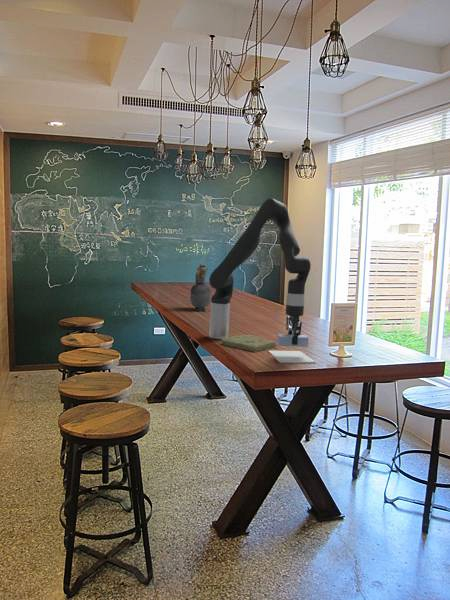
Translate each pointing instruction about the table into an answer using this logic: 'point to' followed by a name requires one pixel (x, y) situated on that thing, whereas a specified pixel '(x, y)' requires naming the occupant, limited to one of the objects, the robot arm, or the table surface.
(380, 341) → the table surface
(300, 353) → the mat
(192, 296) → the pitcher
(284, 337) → the block
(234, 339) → the decorative tile
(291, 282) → the robot arm
